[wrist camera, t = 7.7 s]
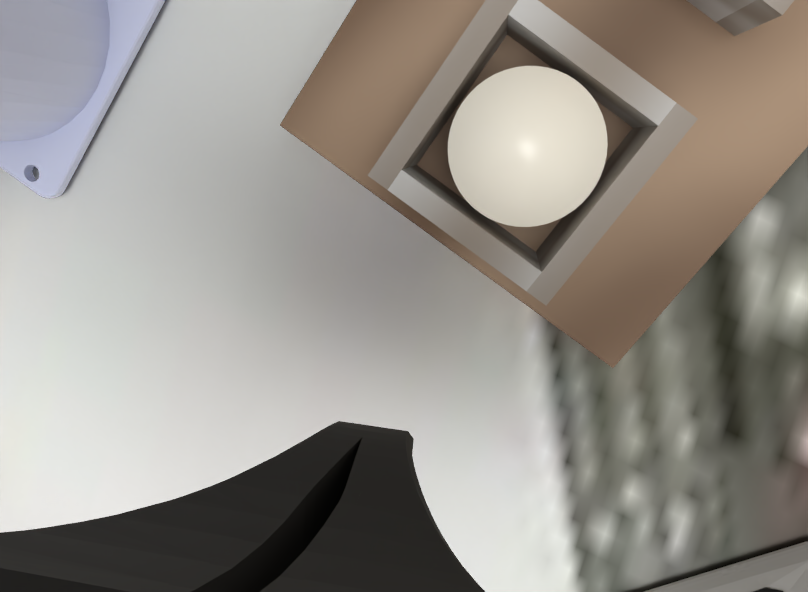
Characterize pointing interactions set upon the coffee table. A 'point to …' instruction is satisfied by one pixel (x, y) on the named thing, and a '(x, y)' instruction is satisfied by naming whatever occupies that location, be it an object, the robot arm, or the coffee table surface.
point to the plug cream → (527, 146)
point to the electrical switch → (752, 574)
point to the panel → (625, 124)
